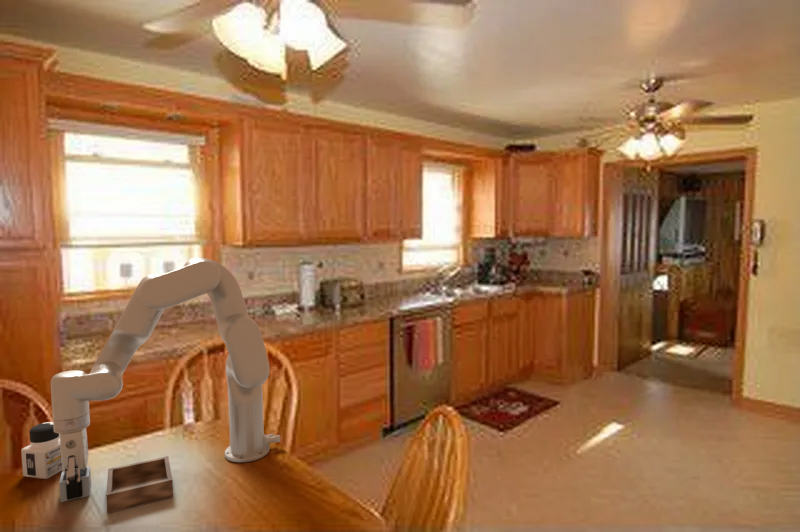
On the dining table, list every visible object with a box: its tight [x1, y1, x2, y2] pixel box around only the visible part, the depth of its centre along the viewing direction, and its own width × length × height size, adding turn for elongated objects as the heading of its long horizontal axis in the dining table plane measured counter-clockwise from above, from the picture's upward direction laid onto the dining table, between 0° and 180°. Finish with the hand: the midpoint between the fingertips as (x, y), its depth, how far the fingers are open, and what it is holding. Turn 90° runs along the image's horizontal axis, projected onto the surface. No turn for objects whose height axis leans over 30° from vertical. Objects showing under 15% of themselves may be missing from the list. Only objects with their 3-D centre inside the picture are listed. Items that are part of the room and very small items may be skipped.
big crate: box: [105, 455, 174, 514], centre depth 124 cm, size 14×14×4 cm
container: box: [20, 421, 63, 480], centre depth 134 cm, size 8×8×13 cm
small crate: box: [58, 465, 92, 503], centre depth 123 cm, size 6×6×5 cm
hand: (76, 490), depth 123 cm, fingers closed on small crate, 6 cm apart
